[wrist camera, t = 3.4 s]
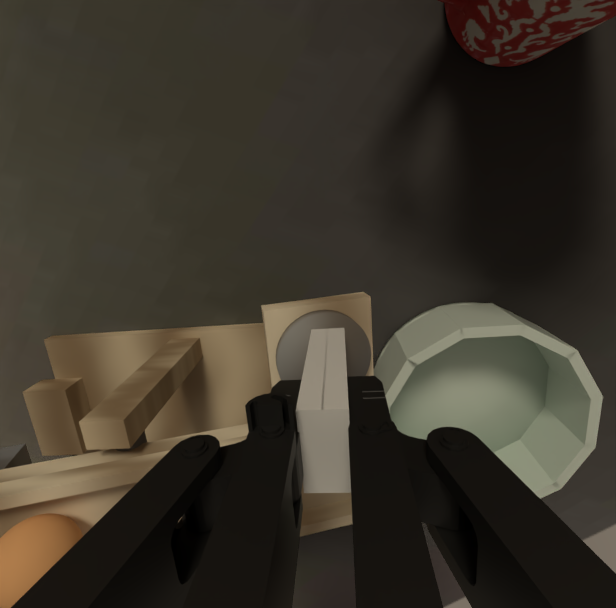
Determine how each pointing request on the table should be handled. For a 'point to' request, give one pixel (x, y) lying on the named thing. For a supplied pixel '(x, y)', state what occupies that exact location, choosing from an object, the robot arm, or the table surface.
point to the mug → (521, 26)
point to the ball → (33, 552)
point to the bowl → (494, 388)
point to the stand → (146, 385)
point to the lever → (145, 455)
